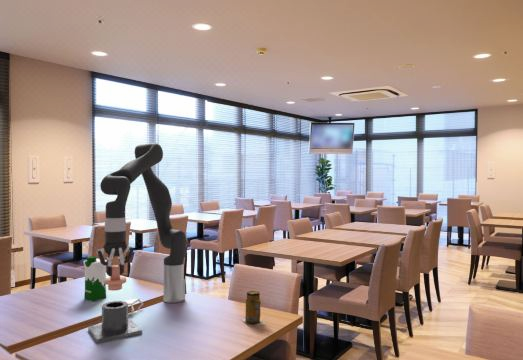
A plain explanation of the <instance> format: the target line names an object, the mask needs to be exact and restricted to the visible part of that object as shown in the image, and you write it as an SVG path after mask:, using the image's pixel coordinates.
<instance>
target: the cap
mask: <svg viewBox="0 0 523 360" xmlns="http://www.w3.org/2000/svg"><path fill="white" fill-rule="evenodd" d="M111 266H112V275H111V276H108V277H106V279H104V284H106V285H107V290H108V291H112V292H113V291H120V290H122V289H123V284H125V283H127V277H125V276H121V275H120V265H119V264H114V265H112V264H111Z"/></svg>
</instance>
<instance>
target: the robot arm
mask: <svg viewBox="0 0 523 360" xmlns="http://www.w3.org/2000/svg"><path fill="white" fill-rule="evenodd" d="M134 157H135V159H132V160H130V161H129V162H127V163H125V164H124V165H123V166H121V167H120V168H119V169H118V170H115V171H113V172H110V173H108V174H107V175H105V176H104V177H103V178H102V180H101V182H100V184H99V185H100V190H101V192H102V193H103V194H105V195H106V196H108V195H109V196H116V198H115V199H114V200H112V201H108V202H106V204H105V219H104V245H103V247H102V248H100V249H96V250H95V251H96V255H97V257H98V259H99V260H100V262H101V264H103V265H105V266H106V275H108V277H110V276H111V275H112V262H113V259H114V257H117V259H118V262H119V263H118V265H120V276H122V275H123V274H124V272H125V264H127V263H129V262H130V260H131V258H132V255H133V252H134V250H135V248H134V247H133V246H128V245H127V243H126V241H127V221H126V220H127V219H126V205H127V202H128V198H129V194H130V190H131V184H133V183H134V182H135V181H136V180H137V179H138V178H139V177H140V176H142V178H143V181H144V183H145V187H146V191H147V195H148V199H149V202H150V205H151V207H152V211H153V214H154V217H155V221H156V222H155V223H156V225H157V232H158V237H159V242H160V244H161V245H162V247H163V248H165V249H168V250H170V253H169V255H167V256H165V257H164V258H163V297H162V298H163V302H165V303H169V304H171V303H175V304H176V303H180V302H182V301H185V300H186V279H185V278H184V275H185V274H184V271H185V269H184V264H185V263H184V262H185V258H186V251H187V236H186V234H185V232H184V231H183V230H180V229H173V226H172V223H171V218H170V215H171V211H172V207H173V202H172V197H171V193H170V190H169V187H168V186H167V185H166V184H165V183H164V182H163V181H162V180H161V179H160V178H159V177H158V176H157V175H156V174H155V172H154V171H153V169H152V167H153V166H156V165H157V164H159V163H161V161H162V160H163V158H164V151H163V148H162V146H161V144H159V143H157V142H150V143H144V144H139V145H137V146H135V148H134ZM125 251H126V254H125V257H124V252H125ZM104 253H106V254H107V256H106V259H105V257H104ZM105 260H107V261H106V262H105Z"/></svg>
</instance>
